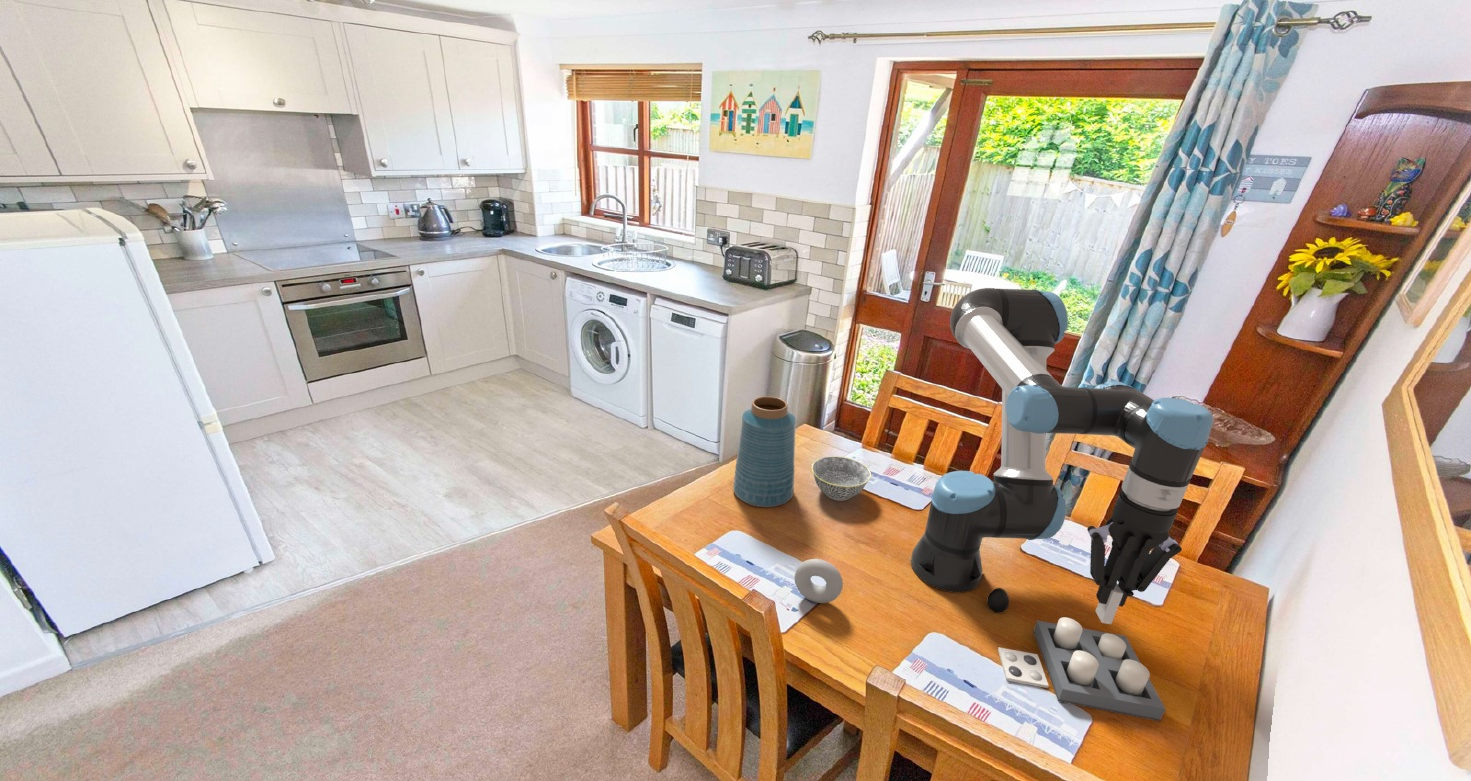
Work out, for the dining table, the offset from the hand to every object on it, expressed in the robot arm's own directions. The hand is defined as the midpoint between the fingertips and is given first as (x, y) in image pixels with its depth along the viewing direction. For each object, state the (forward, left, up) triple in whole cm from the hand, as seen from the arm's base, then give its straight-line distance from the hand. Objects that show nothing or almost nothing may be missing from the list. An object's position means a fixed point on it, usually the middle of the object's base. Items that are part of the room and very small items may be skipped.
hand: (1103, 617), depth 96 cm
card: (-9, +2, -16) cm, 19 cm away
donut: (-47, +10, -16) cm, 51 cm away
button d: (+8, +8, -16) cm, 19 cm away
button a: (0, 0, -14) cm, 14 cm away
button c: (0, +8, -14) cm, 16 cm away
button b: (+8, 0, -14) cm, 16 cm away
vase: (-64, +47, -16) cm, 81 cm away
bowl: (-44, +52, -16) cm, 70 cm away
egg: (-10, +17, -16) cm, 26 cm away
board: (+4, +4, -16) cm, 17 cm away
